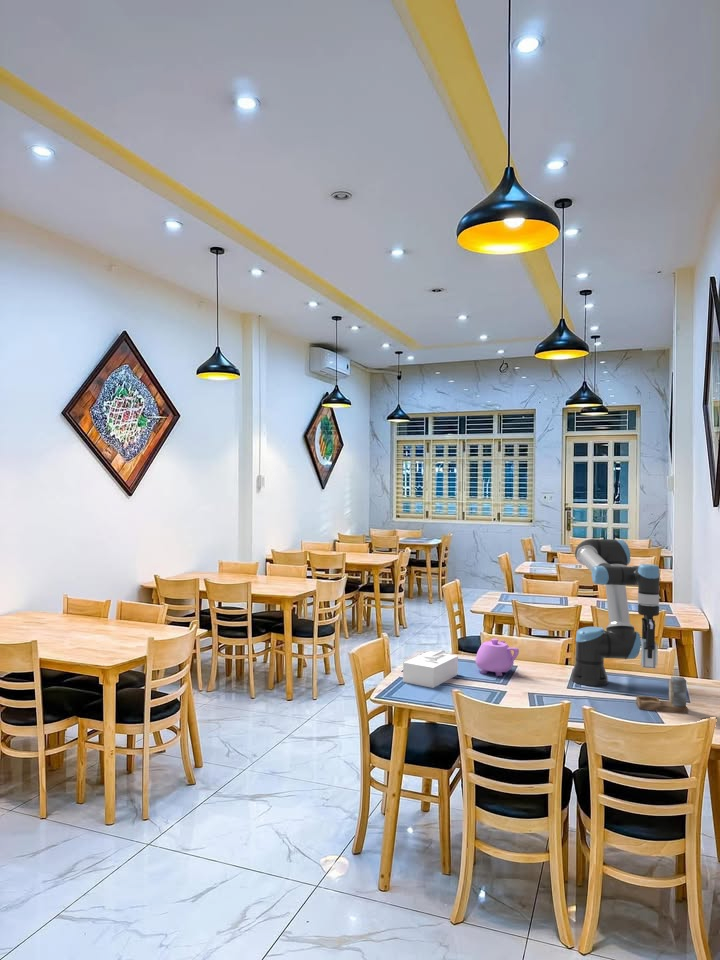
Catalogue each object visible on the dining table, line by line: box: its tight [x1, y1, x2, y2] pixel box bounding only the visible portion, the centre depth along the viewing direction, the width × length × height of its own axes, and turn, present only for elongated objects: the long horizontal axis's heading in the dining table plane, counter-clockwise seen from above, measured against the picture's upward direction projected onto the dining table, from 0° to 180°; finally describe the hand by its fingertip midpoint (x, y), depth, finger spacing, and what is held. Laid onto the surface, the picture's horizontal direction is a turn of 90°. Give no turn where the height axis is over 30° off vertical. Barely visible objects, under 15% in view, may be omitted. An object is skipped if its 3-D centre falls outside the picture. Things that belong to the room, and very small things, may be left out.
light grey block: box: [640, 638, 659, 669], centre depth 252 cm, size 5×4×10 cm
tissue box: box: [402, 649, 459, 689], centre depth 286 cm, size 14×25×11 cm, turn 147°
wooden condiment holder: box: [635, 676, 689, 714], centre depth 251 cm, size 17×7×12 cm, turn 76°
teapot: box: [475, 638, 520, 677], centre depth 299 cm, size 20×20×15 cm
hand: (648, 664), depth 252 cm, fingers closed on light grey block, 4 cm apart
